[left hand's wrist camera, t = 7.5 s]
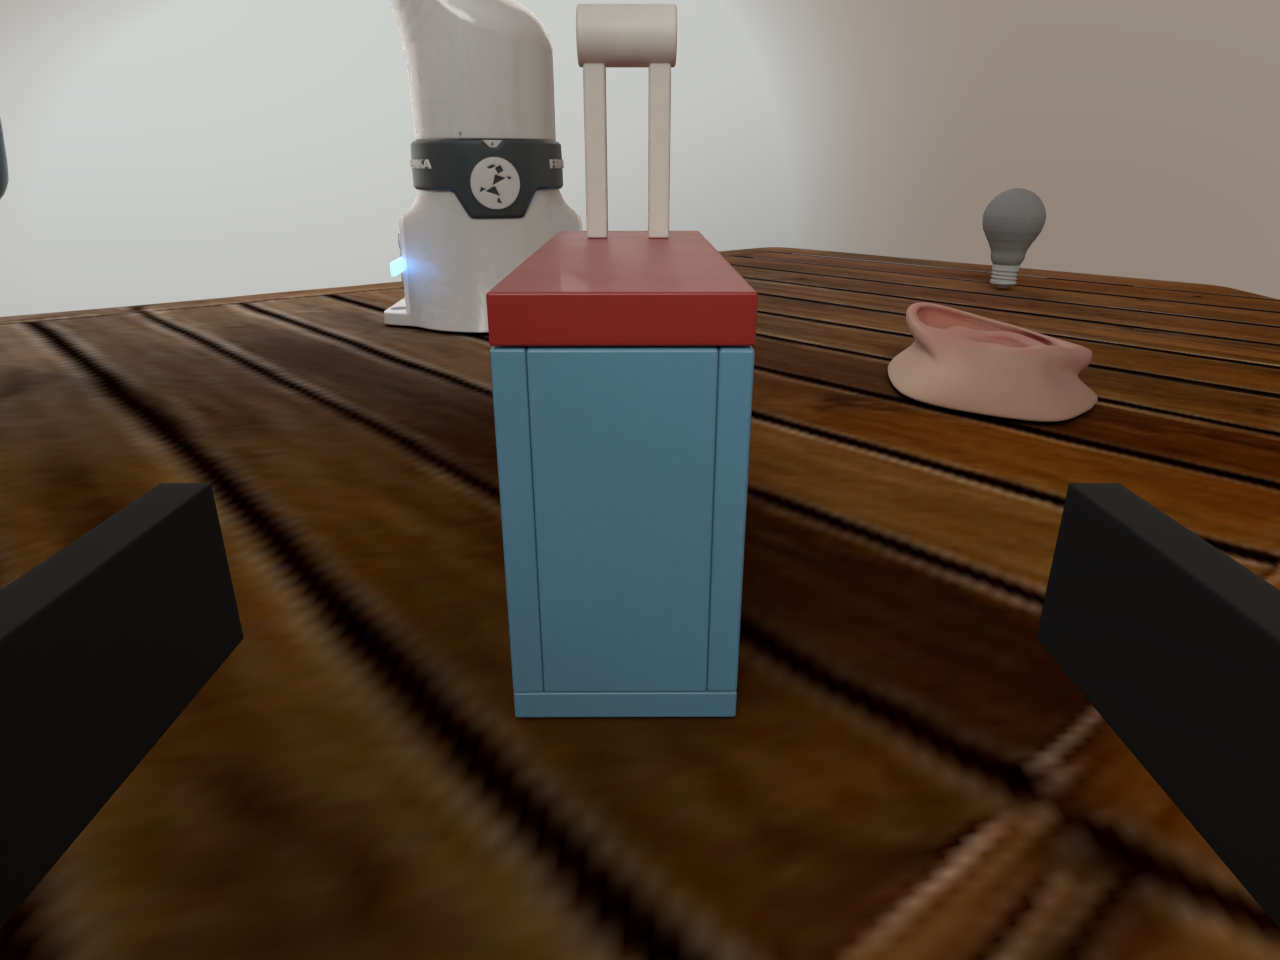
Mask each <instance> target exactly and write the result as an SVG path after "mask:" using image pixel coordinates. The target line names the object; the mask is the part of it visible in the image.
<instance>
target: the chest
mask: <svg viewBox="0 0 1280 960" xmlns="http://www.w3.org/2000/svg"><path fill="white" fill-rule="evenodd" d="M754 354H755V352H754V350H753V348H752V346H493V347H492V348H491V350H490V361H491V375H492V389H493V404H494V418H495V433H496V447H497V461H498V476H499V490H500V505H501V519H502V533H503V548H504V562H505V577H506V591H507V605H508V620H509V634H510V648H511V663H512V677H513V690H514V706H515V716H516V717H734V716H735V715H736V702H737V691H736V689H737V679H738V660H739V641H740V622H741V603H742V584H743V564H744V545H745V526H746V507H747V488H748V469H749V450H750V431H751V411H752V392H753V373H754Z"/></svg>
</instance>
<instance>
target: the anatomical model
mask: <svg viewBox="0 0 1280 960" xmlns="http://www.w3.org/2000/svg"><path fill="white" fill-rule="evenodd" d="M906 321H907V325H908V328H909V330H910V332H911V334H912V335H913V337H914V343H913V344H912V345H911V346H910V347H908V348H907V349H905V350H904V351H902V352H901V353H899V354H898V355H897V356H896V357H895V358H893V360H892V361H891V362H890V363H889V366H888V375H889V378H890V380H891V382H892V384H893V385H894V387H895V388H896V389H897V390H898V391H899V392H901V393H902V394H904V395H905V396H907V397H909V398H912V399H914V400H917V401H920V402H923V403H927V404H931V405H935V406H939V407H943V408H948V409H953V410H958V411H964V412H969V413H975V414H982V415H988V416H994V417H1001V418H1008V419H1017V420H1025V421H1036V422H1058V421H1065V420H1069V419H1071V418H1074V417H1077V416H1079V415H1081V414H1082V413H1084V412H1086V411H1088V410H1090V409H1091V408H1092V407H1093V406H1094V405H1095V404H1096V402H1097V401H1098V398H1097V396H1096V394H1095V393H1094V392H1093V391H1092V390H1091V389H1090V388H1089V387H1088V386H1086V385H1085V384H1084V383H1083V382H1082V381H1081V380H1080V379H1079V377H1078V374H1079V372H1080V371H1081V370H1082V369H1084V368H1085V367H1086V366H1088V365H1089V363H1090V362H1091V360H1092V352H1091V350H1089V349H1088V348H1085V347H1083V346H1080V345H1077V344H1074V343H1070V342H1067V341H1063V340H1059V339H1056V338H1053V337H1049V336H1046V335H1043V334H1040V333H1037V332H1034V331H1031V330H1028V329H1024V328H1021V327H1018V326H1015V325H1011V324H1007V323H1004V322H1000V321H996V320H993V319H989V318H986V317H982V316H978V315H975V314H971V313H968V312H964V311H961V310H957V309H953V308H950V307H946V306H941V305H936V304H931V303H915V304H913V305H911V306H910V307H909V308H908V310H907V313H906Z"/></svg>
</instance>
